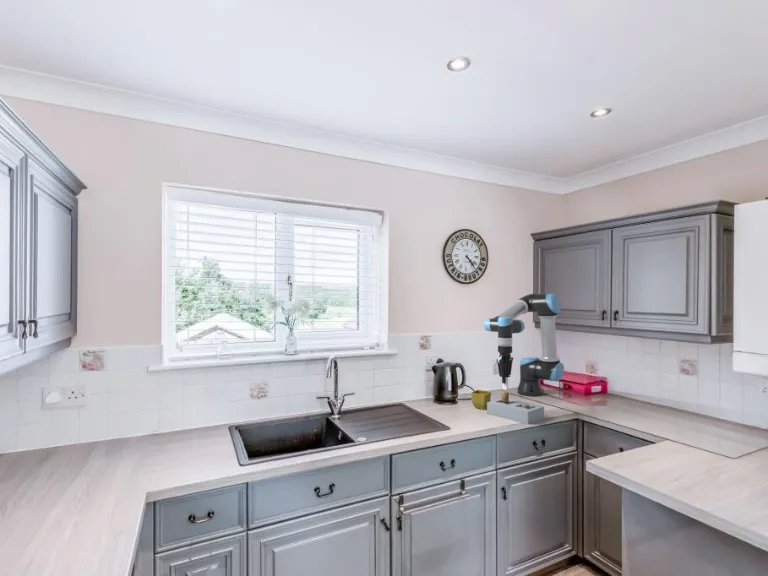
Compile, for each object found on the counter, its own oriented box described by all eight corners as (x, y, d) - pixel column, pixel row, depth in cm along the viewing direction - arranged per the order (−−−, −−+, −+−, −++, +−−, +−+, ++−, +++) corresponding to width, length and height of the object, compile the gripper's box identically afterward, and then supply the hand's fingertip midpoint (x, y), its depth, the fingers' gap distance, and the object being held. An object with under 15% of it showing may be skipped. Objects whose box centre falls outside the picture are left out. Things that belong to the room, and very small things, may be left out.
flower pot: (485, 411, 233) (485, 394, 233) (470, 408, 238) (470, 392, 238) (491, 407, 240) (491, 391, 240) (477, 405, 245) (477, 389, 245)
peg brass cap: (504, 402, 231) (504, 390, 231) (510, 403, 228) (510, 392, 228) (500, 403, 228) (500, 391, 228) (506, 405, 226) (506, 393, 226)
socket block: (504, 408, 238) (503, 397, 238) (544, 417, 220) (544, 405, 220) (487, 413, 227) (487, 402, 228) (527, 424, 209) (527, 411, 209)
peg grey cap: (524, 415, 222) (524, 403, 222) (530, 417, 219) (530, 405, 219) (520, 417, 219) (520, 404, 219) (526, 418, 217) (526, 406, 217)
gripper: (505, 343, 236) (505, 386, 235) (492, 345, 227) (492, 389, 227) (517, 345, 230) (517, 388, 230) (504, 347, 222) (504, 392, 221)
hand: (505, 389), depth 228 cm, fingers closed
